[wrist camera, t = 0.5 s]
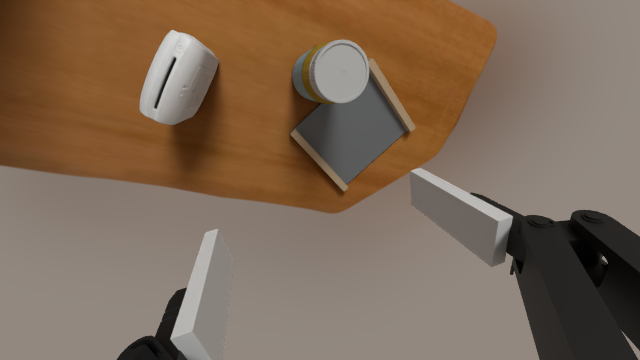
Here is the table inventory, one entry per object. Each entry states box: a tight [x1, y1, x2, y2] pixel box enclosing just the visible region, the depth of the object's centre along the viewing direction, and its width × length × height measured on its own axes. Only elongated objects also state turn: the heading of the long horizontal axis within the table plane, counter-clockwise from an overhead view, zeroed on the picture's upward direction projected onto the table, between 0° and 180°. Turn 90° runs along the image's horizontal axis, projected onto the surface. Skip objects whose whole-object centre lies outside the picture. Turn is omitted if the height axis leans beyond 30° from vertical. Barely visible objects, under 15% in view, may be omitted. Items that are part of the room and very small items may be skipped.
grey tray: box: [290, 58, 416, 191], centre depth 42 cm, size 15×18×2 cm
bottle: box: [292, 40, 369, 104], centre depth 32 cm, size 7×7×15 cm
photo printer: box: [140, 30, 219, 125], centre depth 29 cm, size 10×4×12 cm, turn 148°
